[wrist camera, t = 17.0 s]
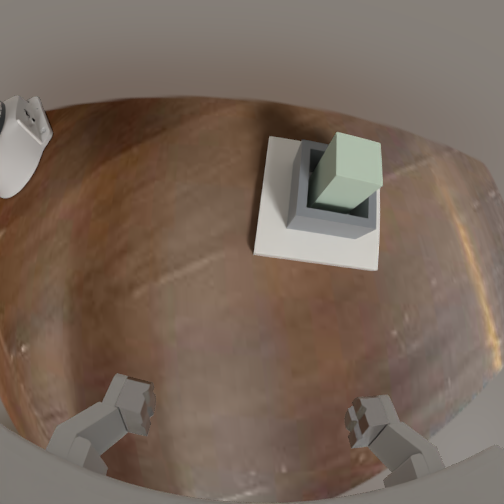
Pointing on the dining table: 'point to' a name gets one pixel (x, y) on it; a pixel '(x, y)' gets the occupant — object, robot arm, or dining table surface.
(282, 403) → the dining table surface
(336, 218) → the well stand
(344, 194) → the sage block
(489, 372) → the dining table surface
